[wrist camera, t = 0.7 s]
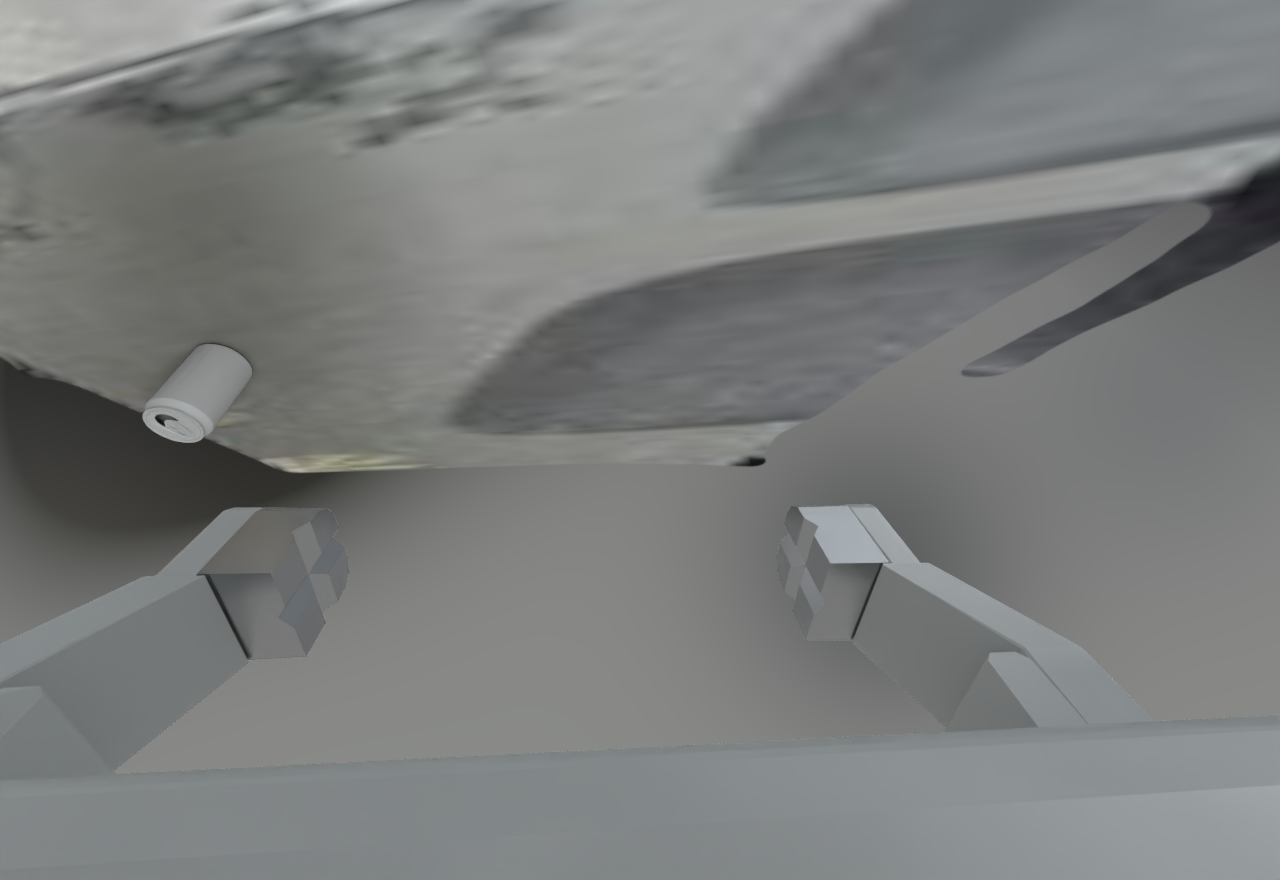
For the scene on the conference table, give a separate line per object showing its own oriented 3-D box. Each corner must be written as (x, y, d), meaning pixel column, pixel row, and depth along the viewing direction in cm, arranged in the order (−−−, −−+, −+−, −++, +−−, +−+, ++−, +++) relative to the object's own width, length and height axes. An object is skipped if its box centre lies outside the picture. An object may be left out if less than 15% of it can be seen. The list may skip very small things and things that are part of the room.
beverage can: (220, 333, 62) (162, 398, 54) (267, 370, 66) (220, 436, 58) (184, 350, 64) (123, 417, 56) (232, 385, 68) (181, 451, 60)
